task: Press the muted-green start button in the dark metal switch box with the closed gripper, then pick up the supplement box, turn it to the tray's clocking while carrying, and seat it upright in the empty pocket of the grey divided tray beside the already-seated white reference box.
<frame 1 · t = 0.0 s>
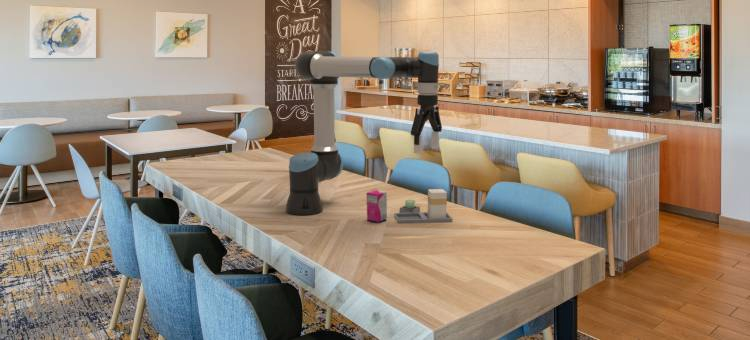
hand: (426, 150, 218), 28 cm above the table, fingers open, 13 cm apart
start button: (409, 206, 234), point 4 cm above the table, slide at 0.0 cm
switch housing: (409, 214, 234), on the table
reference box: (436, 218, 225), point 1 cm above the table, touching grey divided tray
grey divided tray: (422, 221, 225), on the table
supplement box: (376, 220, 226), on the table
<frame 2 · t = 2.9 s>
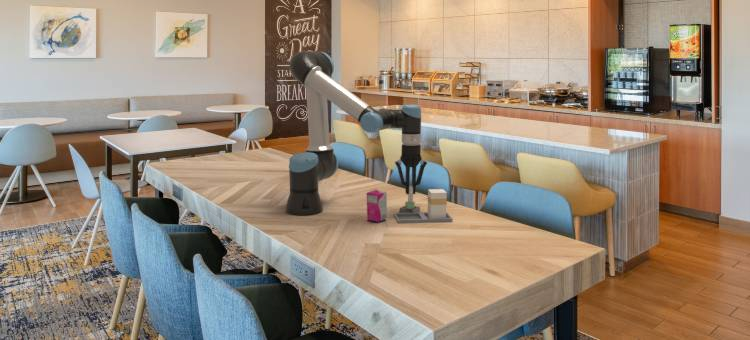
hand: (410, 201, 233), 5 cm above the table, fingers closed
start button: (409, 207, 234), point 3 cm above the table, slide at -0.6 cm, touching gripper
everything else where it was.
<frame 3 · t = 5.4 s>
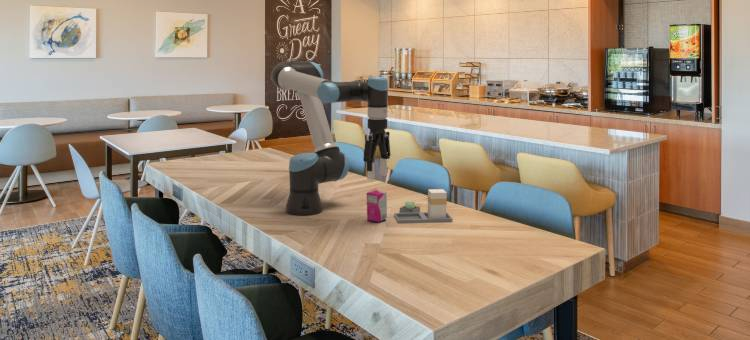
hand: (377, 177, 222), 17 cm above the table, fingers open, 8 cm apart
start button: (409, 208, 234), point 3 cm above the table, slide at -0.7 cm
everything else where it was.
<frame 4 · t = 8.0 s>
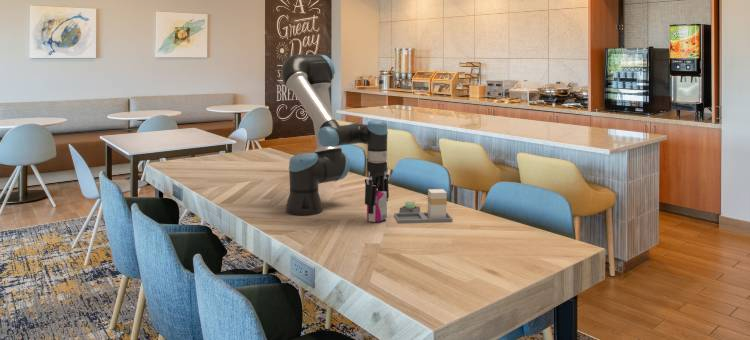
hand: (376, 219, 226), 0 cm above the table, fingers closed on supplement box, 6 cm apart
supplement box: (376, 220, 226), on the table, touching gripper
everything else where it was.
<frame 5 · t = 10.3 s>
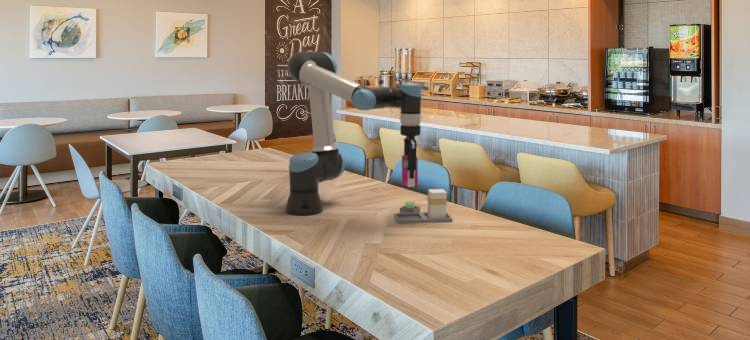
hand: (409, 184, 221), 15 cm above the table, fingers closed on supplement box, 6 cm apart
supplement box: (409, 186, 221), point 14 cm above the table, touching gripper
everything else where it was.
when the fingers open (3 cm above the table, at t = 12.6 s): supplement box drops 2 cm, resting on grey divided tray.
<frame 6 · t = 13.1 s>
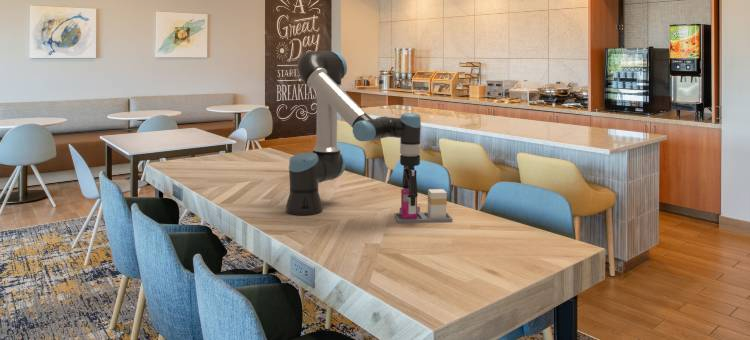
hand: (409, 209, 223), 5 cm above the table, fingers open, 12 cm apart
supplement box: (408, 219, 224), point 1 cm above the table, touching grey divided tray
everything else where it was.
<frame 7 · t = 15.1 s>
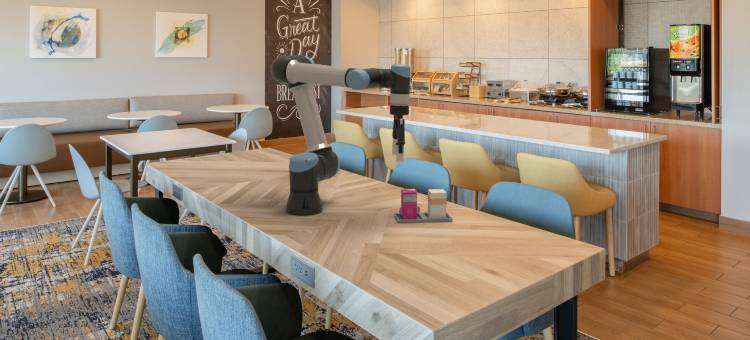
hand: (397, 158, 229), 23 cm above the table, fingers open, 13 cm apart
nothing on the table moved.
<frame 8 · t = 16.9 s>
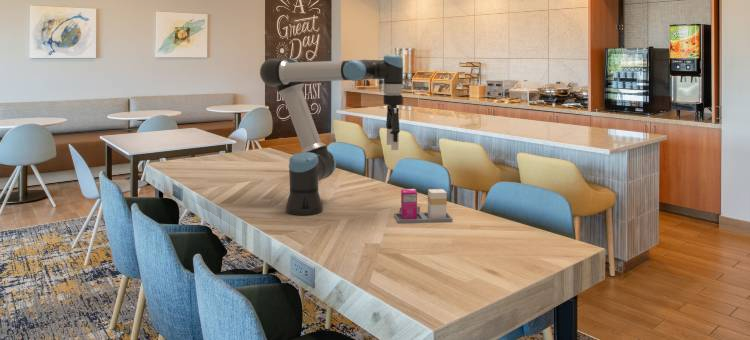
hand: (392, 147, 234), 27 cm above the table, fingers open, 13 cm apart
nothing on the table moved.
at the end: supplement box 0.1 cm from the target spot, point 0.8 cm above the table; supplement box tilted 0°; start button slide at -0.7 cm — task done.
